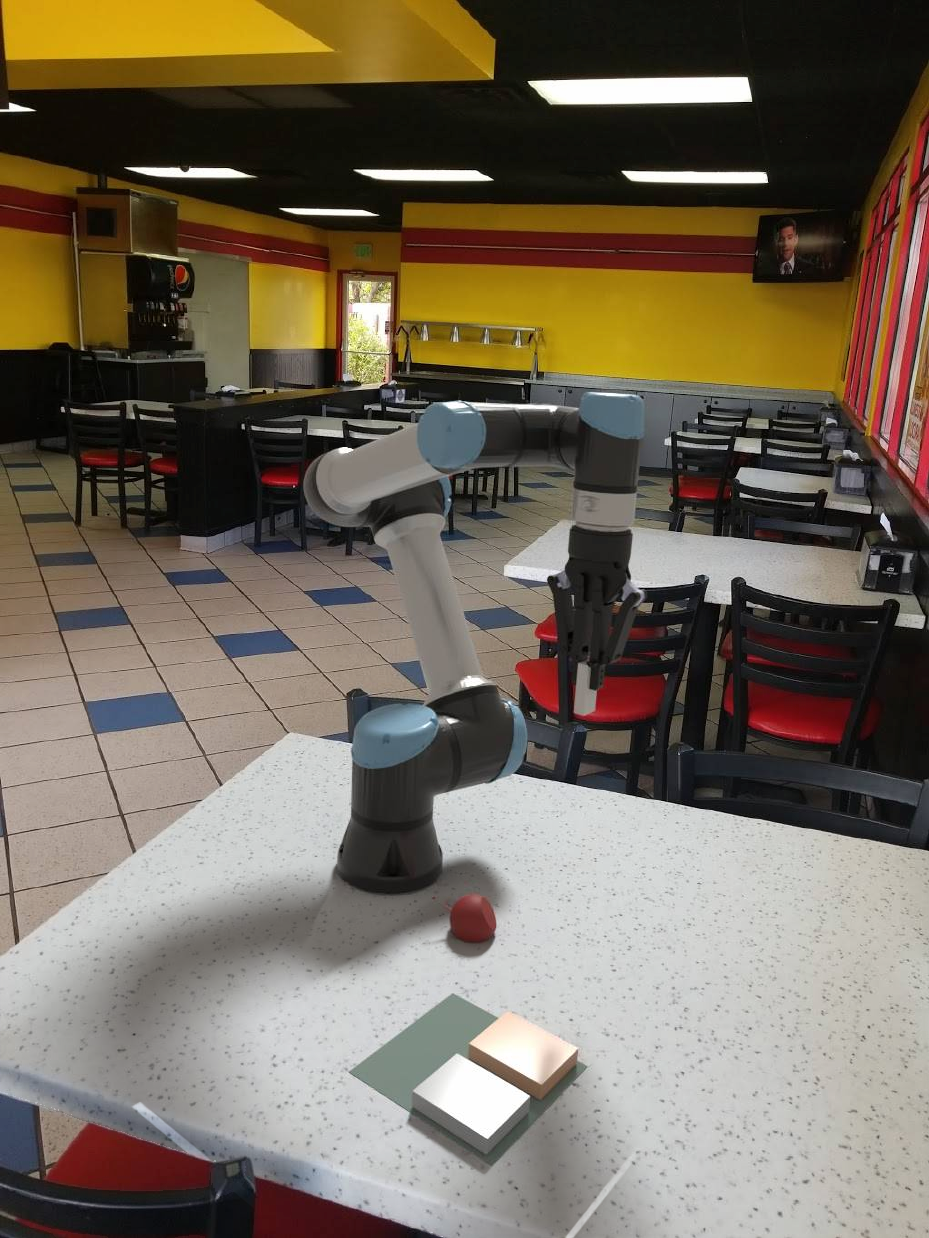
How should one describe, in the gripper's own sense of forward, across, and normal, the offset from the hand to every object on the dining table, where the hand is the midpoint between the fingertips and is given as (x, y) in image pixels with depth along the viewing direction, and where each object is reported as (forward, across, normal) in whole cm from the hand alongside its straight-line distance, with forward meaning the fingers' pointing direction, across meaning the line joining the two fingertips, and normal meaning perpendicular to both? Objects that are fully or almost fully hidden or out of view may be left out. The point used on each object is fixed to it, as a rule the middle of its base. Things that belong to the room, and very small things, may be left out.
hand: (584, 711), depth 120 cm
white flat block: (+28, +7, -36) cm, 46 cm away
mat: (+29, +8, -31) cm, 44 cm away
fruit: (+30, -8, -12) cm, 33 cm away
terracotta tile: (+28, +7, -27) cm, 39 cm away
